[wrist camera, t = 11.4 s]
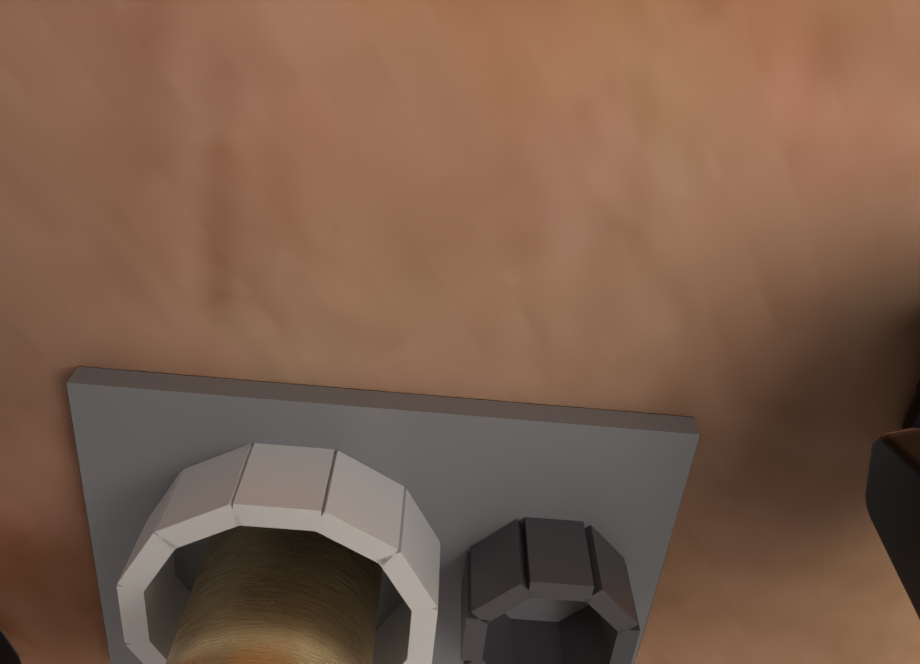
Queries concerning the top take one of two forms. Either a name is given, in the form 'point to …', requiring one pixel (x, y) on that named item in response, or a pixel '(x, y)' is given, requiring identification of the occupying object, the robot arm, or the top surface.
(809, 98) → the top surface
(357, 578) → the gold cylinder peg
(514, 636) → the fitting board
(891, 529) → the robot arm
